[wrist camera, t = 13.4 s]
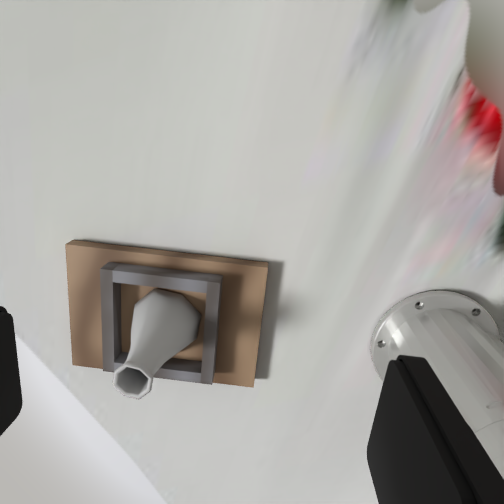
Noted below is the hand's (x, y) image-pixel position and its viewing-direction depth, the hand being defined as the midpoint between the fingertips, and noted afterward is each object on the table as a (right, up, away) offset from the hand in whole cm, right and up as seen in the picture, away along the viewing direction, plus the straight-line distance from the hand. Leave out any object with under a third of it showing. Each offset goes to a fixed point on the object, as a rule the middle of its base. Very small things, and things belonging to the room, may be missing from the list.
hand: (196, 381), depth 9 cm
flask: (-7, -4, +30) cm, 31 cm away
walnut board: (-8, -3, +31) cm, 33 cm away
